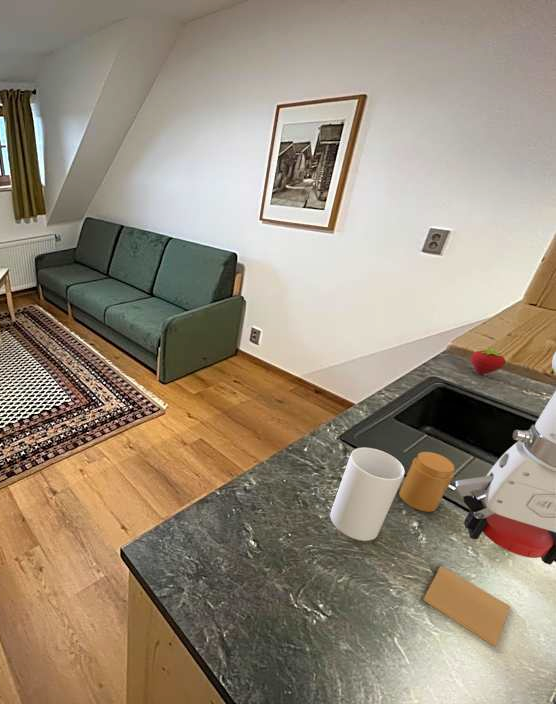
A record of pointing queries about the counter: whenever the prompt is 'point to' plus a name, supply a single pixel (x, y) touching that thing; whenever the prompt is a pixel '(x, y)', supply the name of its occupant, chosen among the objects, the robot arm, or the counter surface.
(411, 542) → the counter surface
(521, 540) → the lid
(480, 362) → the strawberry
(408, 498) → the jar
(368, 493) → the cup
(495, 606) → the mat
